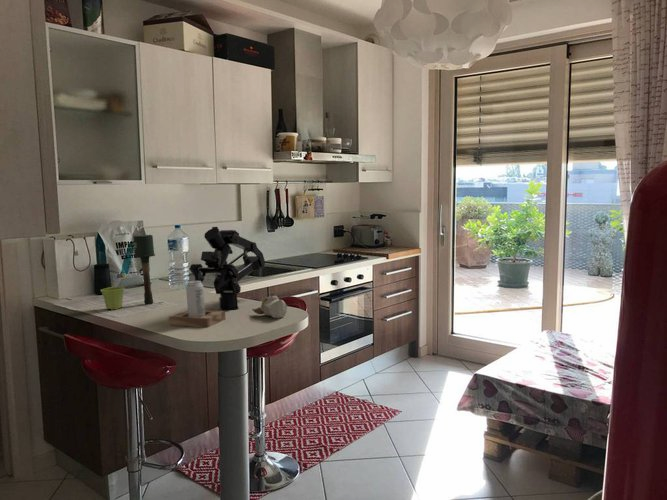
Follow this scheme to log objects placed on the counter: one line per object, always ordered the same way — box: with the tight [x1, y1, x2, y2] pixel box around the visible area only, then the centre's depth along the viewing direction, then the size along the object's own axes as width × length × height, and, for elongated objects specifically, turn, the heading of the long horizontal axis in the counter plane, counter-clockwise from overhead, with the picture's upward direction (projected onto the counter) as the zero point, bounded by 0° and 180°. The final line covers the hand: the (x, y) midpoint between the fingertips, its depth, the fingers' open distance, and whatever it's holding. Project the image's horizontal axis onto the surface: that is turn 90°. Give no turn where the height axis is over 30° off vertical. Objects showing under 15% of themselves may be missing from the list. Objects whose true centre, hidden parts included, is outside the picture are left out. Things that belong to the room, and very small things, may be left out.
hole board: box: [168, 309, 226, 328], centre depth 195 cm, size 12×16×3 cm
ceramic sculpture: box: [252, 293, 288, 319], centre depth 199 cm, size 11×9×15 cm
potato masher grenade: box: [133, 234, 156, 305], centre depth 232 cm, size 8×9×30 cm
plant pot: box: [99, 286, 125, 310], centre depth 227 cm, size 9×9×9 cm
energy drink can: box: [185, 280, 206, 317], centre depth 194 cm, size 6×6×15 cm
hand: (206, 288), depth 201 cm, fingers open, 9 cm apart
